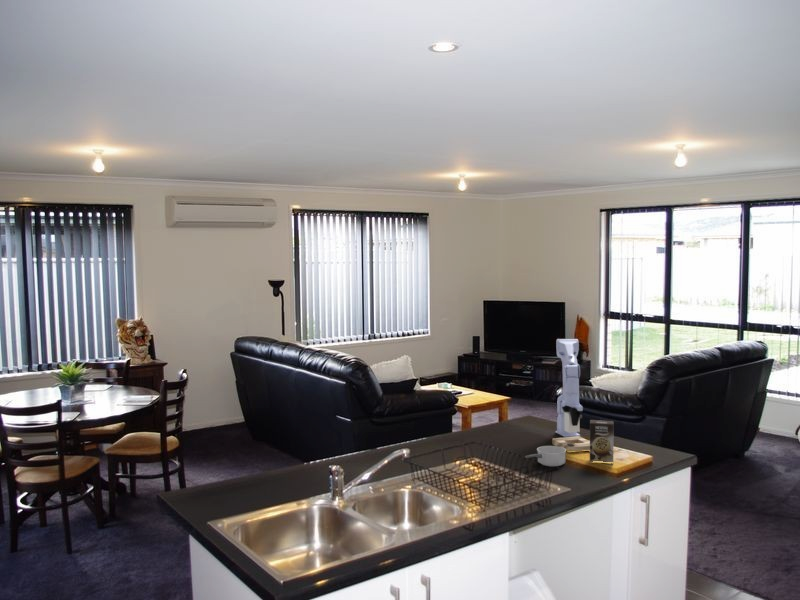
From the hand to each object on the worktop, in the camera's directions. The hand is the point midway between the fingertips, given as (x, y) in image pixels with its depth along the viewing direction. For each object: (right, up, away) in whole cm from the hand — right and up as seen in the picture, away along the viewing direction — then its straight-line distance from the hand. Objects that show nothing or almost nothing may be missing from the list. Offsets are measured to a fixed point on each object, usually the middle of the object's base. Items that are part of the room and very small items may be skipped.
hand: (572, 424), depth 288 cm
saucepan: (-17, -12, -24) cm, 32 cm away
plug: (0, -3, 0) cm, 3 cm away
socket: (+1, -10, 0) cm, 10 cm away
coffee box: (+6, -11, -21) cm, 25 cm away
